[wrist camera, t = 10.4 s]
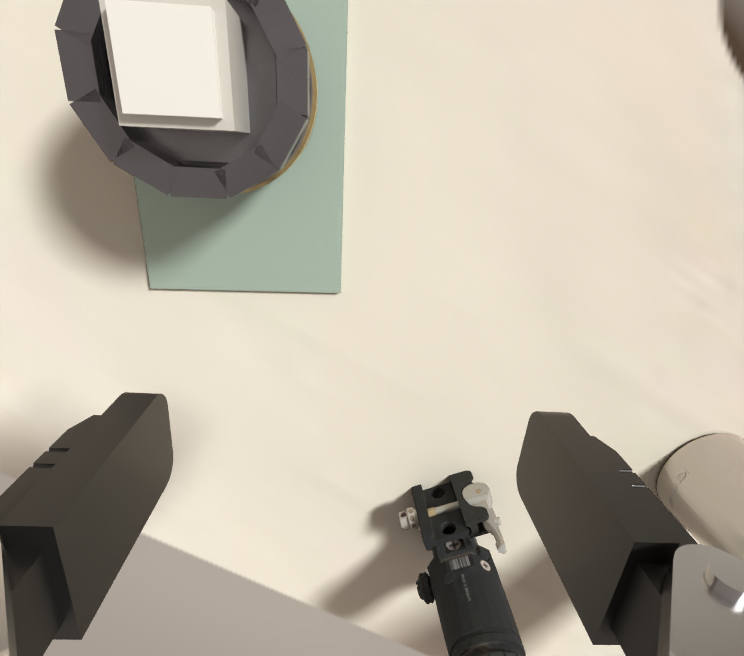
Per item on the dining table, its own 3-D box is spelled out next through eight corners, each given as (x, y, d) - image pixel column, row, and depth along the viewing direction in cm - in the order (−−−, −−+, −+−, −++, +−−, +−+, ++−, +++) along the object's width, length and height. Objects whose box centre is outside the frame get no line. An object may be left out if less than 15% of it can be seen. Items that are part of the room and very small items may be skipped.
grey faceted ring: (321, 6, 25) (313, -72, 16) (320, 188, 29) (313, 208, 20) (138, -10, 24) (22, -102, 15) (161, 181, 28) (80, 198, 19)
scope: (550, 623, 26) (568, 712, 30) (479, 466, 39) (498, 543, 43) (418, 658, 26) (454, 743, 30) (391, 491, 39) (418, 566, 43)
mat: (347, -13, 25) (348, -16, 24) (340, 291, 32) (340, 293, 31) (106, -35, 24) (102, -38, 23) (152, 286, 30) (150, 288, 30)
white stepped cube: (243, 23, 18) (221, -8, 15) (250, 133, 20) (231, 130, 16) (138, 15, 18) (89, -17, 14) (153, 128, 19) (113, 125, 16)
